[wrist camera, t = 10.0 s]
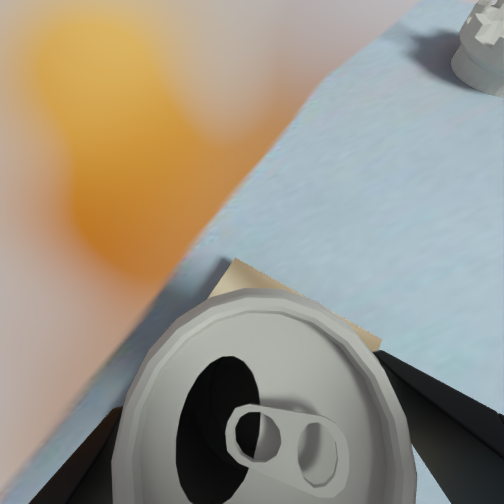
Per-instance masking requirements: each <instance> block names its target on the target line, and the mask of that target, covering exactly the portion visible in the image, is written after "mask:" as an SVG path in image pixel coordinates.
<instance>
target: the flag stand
mask: <svg viewBox="0 0 504 504" xmlns="http://www.w3.org/2000/svg"><path fill="white" fill-rule="evenodd" d="M492 2H493V0H479V1H478V2H477V3H476V5H475V6H474V8H473V10H472V11H471V13H470V15H469V16H468V18H467V19H466V21H465V23H464V24H463V26H462V28H461V30H460V41H461V45H460V46H459V48H458V49H457V51H456V52H455V54H454V56H453V57H452V60H451V67H452V70H453V72H454V73H455V75H456V76H457V77H458V78H459V79H460V80H461V81H463V82H464V83H466V84H467V85H469V86H470V87H472V88H474V89H476V90H479V91H481V92H483V93H487V94H490V95H493V96H499V97H504V0H498V1H497V3H496V4H495V5H491V3H492ZM490 5H491V6H490Z"/></svg>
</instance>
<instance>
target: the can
mask: <svg viewBox="0 0 504 504" xmlns="http://www.w3.org/2000/svg"><path fill="white" fill-rule="evenodd" d="M111 466H112V492H113V504H415V503H416V488H417V472H416V466H415V461H414V456H413V451H412V445H411V440H410V435H409V430H408V424H407V419H406V416H405V414H404V412H403V410H402V407H401V405H400V403H399V401H398V399H397V397H396V394H395V392H394V390H393V388H392V386H391V384H390V381H389V379H388V377H387V375H386V373H385V371H384V369H383V368H382V366H381V365H380V363H379V361H378V359H377V358H376V356H375V355H374V354H373V353H372V351H371V350H370V349H369V348H368V347H367V345H366V344H365V343H364V342H363V340H362V339H361V338H360V337H359V335H358V334H357V333H356V332H355V331H354V329H353V328H352V327H351V326H350V324H348V323H347V322H345V321H344V320H342V319H341V318H340V317H338V316H337V315H335V314H334V313H333V312H331V311H330V310H328V309H327V308H326V307H324V306H323V305H321V304H320V303H319V302H317V301H315V300H312V299H309V298H306V297H303V296H300V295H298V294H295V293H292V292H289V291H286V290H283V289H269V288H242V289H239V290H235V291H232V292H228V293H224V294H221V295H217V296H213V297H210V298H208V299H207V300H205V301H204V302H202V303H200V304H199V305H197V306H196V307H194V308H193V309H191V310H189V311H188V312H186V313H185V314H183V315H181V316H180V317H178V318H177V319H176V320H175V321H174V322H173V323H172V324H171V326H170V327H169V328H168V329H167V330H166V331H165V332H164V333H163V335H162V336H161V337H160V338H159V339H158V340H157V341H156V342H155V344H154V345H153V346H152V347H151V348H150V349H149V350H148V352H147V354H146V356H145V358H144V360H143V362H142V364H141V366H140V368H139V370H138V372H137V374H136V376H135V378H134V380H133V382H132V384H131V386H130V388H129V390H128V392H127V394H126V399H125V404H124V406H123V410H122V415H121V420H120V424H119V429H118V433H117V438H116V443H115V447H114V452H113V456H112V461H111Z"/></svg>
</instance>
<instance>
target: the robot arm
mask: <svg viewBox="0 0 504 504" xmlns="http://www.w3.org/2000/svg"><path fill="white" fill-rule="evenodd" d="M372 353H373V354H374V355H375V356H376V358H377V359H378V361H379V363H380V365H381V366H382V368H383V369H384V371H385V373H386V375H387V377H388V379H389V381H390V384H391V386H392V388H393V390H394V392H395V394H396V397H397V399H398V401H399V403H400V405H401V407H402V410H403V412H404V414H405V416H406V419H407V424H408V430H409V435H410V440H411V444H412V445H413V447H414V448H415V450H416V451H417V453H418V454H419V456H420V457H421V459H422V460H423V462H424V463H425V465H426V466H427V468H428V469H429V471H430V472H431V474H432V475H433V477H434V478H435V480H436V481H437V483H438V484H439V486H440V487H441V489H442V490H443V492H444V493H445V495H446V496H447V498H448V499H449V501H450V503H451V504H504V415H502V414H500V413H499V414H498V413H497V412H496V411H494V410H493V409H491V408H489V407H487V406H485V405H483V404H481V403H480V402H478V401H476V400H474V399H472V398H470V397H468V396H467V395H465V394H463V393H461V392H459V391H457V390H455V389H454V388H452V387H450V386H448V385H446V384H444V383H442V382H440V381H439V380H437V379H435V378H433V377H431V376H429V375H427V374H426V373H424V372H422V371H420V370H418V369H416V368H414V367H413V366H411V365H409V364H407V363H405V362H403V361H401V360H400V359H398V358H396V357H394V356H392V355H390V354H388V353H386V352H385V351H382V350H378V351H373V352H372ZM122 410H123V406H121V407H117V408H114V409H112V410H111V411H110V413H109V414H108V415H107V416H106V417H105V418H104V419H103V420H102V422H101V423H100V424H99V425H98V426H97V427H96V428H95V429H94V431H93V432H92V433H91V434H90V435H89V436H88V437H87V438H86V440H85V441H84V442H83V443H82V444H81V445H80V446H79V447H78V449H77V450H76V451H75V452H74V453H73V454H72V455H71V456H70V458H69V459H68V460H67V461H66V462H65V463H64V464H63V465H62V467H61V468H60V469H59V470H58V471H57V472H56V473H55V474H54V476H53V477H52V478H51V479H50V480H49V481H48V482H47V483H46V485H45V486H44V487H43V488H42V489H41V490H40V491H39V492H38V494H37V495H36V496H35V497H34V498H33V499H32V500H31V501H30V503H29V504H113V492H112V466H111V461H112V456H113V452H114V447H115V443H116V438H117V433H118V429H119V424H120V420H121V415H122Z"/></svg>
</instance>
